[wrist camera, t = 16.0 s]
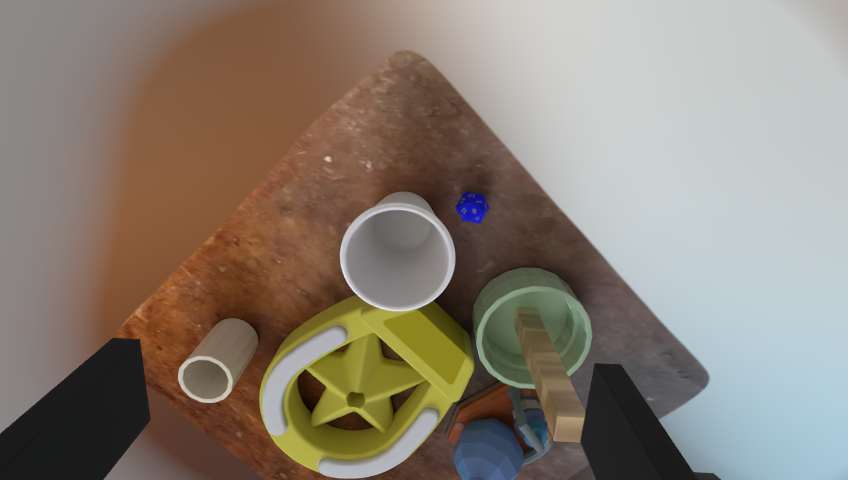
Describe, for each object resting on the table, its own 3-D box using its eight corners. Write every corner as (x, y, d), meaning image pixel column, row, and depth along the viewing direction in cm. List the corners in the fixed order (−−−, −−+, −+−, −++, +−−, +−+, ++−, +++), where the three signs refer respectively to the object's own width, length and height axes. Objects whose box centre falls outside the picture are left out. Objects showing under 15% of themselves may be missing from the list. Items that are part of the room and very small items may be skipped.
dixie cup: (437, 273, 47) (440, 322, 38) (349, 254, 47) (330, 299, 37) (459, 188, 45) (468, 218, 35) (367, 166, 44) (350, 191, 35)
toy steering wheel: (497, 361, 50) (505, 391, 46) (354, 477, 55) (347, 515, 50) (380, 249, 47) (374, 269, 42) (237, 383, 51) (217, 414, 46)
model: (479, 477, 55) (489, 554, 46) (431, 418, 52) (432, 487, 44) (576, 425, 53) (606, 495, 44) (531, 361, 50) (553, 421, 41)
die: (455, 218, 46) (447, 208, 43) (470, 194, 46) (463, 182, 43) (481, 232, 45) (475, 222, 42) (496, 207, 45) (490, 195, 42)
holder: (209, 316, 49) (175, 354, 42) (257, 319, 49) (231, 357, 42) (212, 358, 50) (180, 401, 44) (259, 360, 50) (234, 404, 44)
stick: (515, 307, 48) (557, 415, 33) (536, 308, 48) (588, 417, 33) (513, 326, 48) (553, 441, 33) (534, 327, 48) (583, 443, 33)
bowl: (476, 262, 47) (482, 283, 42) (583, 268, 47) (600, 290, 42) (467, 356, 50) (471, 385, 45) (567, 361, 50) (582, 391, 46)
